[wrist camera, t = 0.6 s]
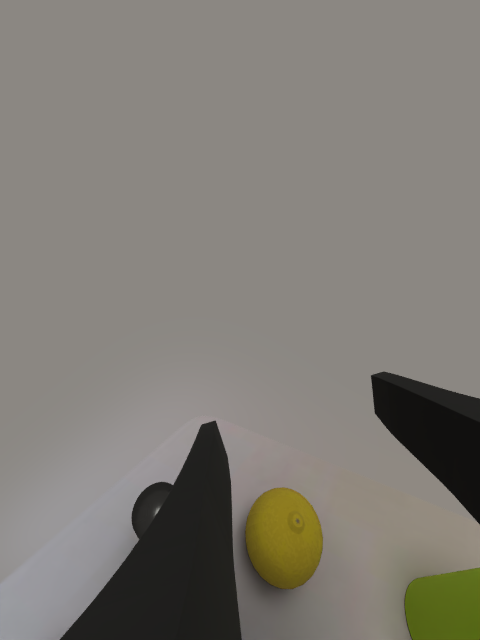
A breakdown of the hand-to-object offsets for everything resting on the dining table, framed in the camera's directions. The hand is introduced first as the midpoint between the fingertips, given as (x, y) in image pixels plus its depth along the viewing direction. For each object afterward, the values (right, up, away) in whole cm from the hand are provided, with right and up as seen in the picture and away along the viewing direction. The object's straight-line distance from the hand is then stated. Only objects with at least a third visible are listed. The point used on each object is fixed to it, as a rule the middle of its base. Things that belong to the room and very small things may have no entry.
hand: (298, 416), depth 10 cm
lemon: (0, -15, +10) cm, 18 cm away
